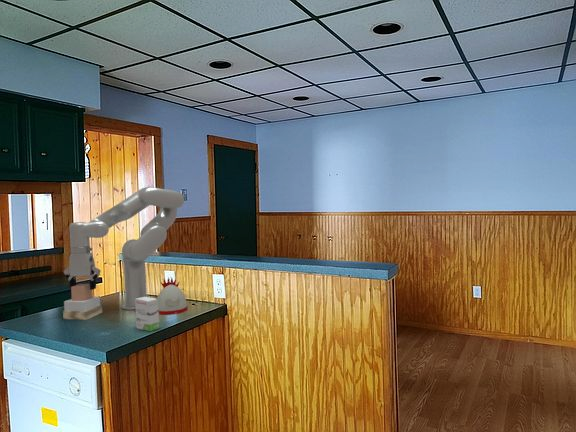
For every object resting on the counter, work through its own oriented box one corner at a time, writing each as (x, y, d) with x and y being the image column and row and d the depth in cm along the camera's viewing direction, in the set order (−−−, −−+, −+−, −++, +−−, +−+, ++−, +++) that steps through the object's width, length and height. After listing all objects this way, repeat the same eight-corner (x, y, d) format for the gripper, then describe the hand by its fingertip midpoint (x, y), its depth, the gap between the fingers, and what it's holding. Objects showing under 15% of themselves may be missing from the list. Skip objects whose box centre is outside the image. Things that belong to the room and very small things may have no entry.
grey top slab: (100, 305, 188) (99, 296, 188) (83, 311, 178) (83, 302, 178) (81, 304, 190) (81, 295, 190) (64, 310, 181) (64, 301, 181)
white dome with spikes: (154, 308, 193) (152, 276, 192) (184, 305, 198) (183, 273, 197) (157, 316, 180) (155, 282, 179) (189, 312, 185) (188, 278, 185)
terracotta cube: (93, 297, 187) (92, 283, 186) (84, 300, 181) (83, 286, 180) (80, 297, 187) (79, 283, 187) (71, 300, 182) (71, 286, 181)
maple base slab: (102, 313, 189) (101, 304, 189) (86, 320, 178) (86, 311, 178) (80, 313, 191) (80, 304, 191) (63, 320, 180) (63, 311, 180)
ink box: (160, 328, 164) (158, 298, 163) (149, 331, 160) (148, 301, 159) (146, 324, 169) (145, 295, 168) (135, 328, 165) (134, 298, 164)
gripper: (103, 249, 185) (106, 287, 186) (68, 249, 188) (71, 287, 189) (93, 251, 178) (95, 291, 179) (56, 252, 181) (59, 291, 182)
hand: (83, 289), depth 184 cm, fingers open, 9 cm apart
